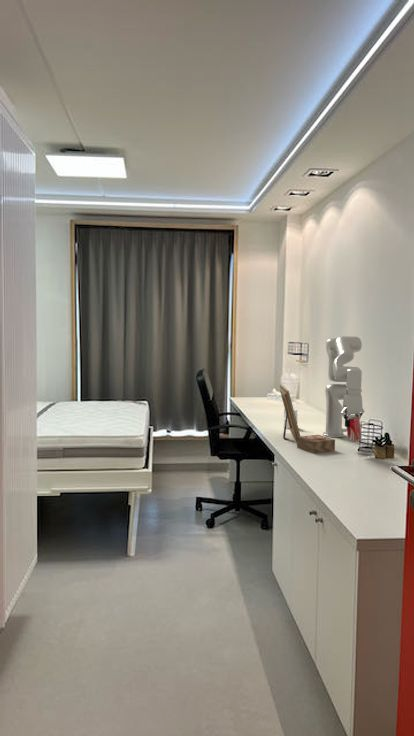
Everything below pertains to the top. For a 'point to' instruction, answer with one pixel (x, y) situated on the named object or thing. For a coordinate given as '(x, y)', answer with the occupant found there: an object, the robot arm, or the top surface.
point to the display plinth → (316, 443)
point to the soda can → (354, 429)
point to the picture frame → (289, 413)
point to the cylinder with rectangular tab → (287, 419)
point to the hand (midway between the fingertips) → (352, 426)
